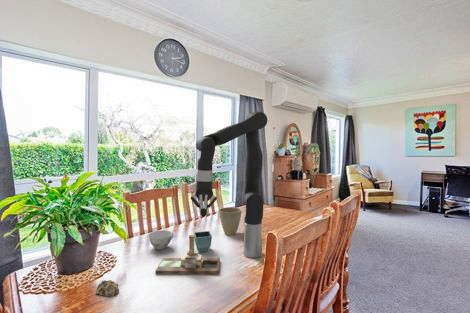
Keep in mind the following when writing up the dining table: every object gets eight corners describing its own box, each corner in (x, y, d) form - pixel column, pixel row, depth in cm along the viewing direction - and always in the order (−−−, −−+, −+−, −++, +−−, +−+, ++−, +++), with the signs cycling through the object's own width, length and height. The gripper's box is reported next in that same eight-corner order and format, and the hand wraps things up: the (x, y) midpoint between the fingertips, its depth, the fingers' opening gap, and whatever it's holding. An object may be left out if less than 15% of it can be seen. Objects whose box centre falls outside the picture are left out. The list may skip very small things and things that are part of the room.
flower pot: (195, 254, 134) (195, 237, 134) (193, 247, 142) (193, 232, 142) (211, 252, 136) (212, 236, 136) (209, 246, 145) (209, 230, 145)
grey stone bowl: (157, 254, 133) (157, 239, 133) (144, 248, 141) (144, 233, 141) (180, 246, 145) (180, 232, 144) (167, 240, 153) (167, 227, 152)
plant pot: (242, 230, 173) (242, 207, 173) (240, 238, 159) (240, 213, 158) (220, 229, 175) (220, 206, 174) (216, 237, 160) (217, 212, 159)
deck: (219, 261, 126) (219, 248, 126) (218, 274, 113) (218, 260, 113) (163, 261, 126) (163, 248, 125) (155, 274, 113) (155, 260, 112)
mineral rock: (89, 286, 99) (109, 272, 105) (92, 295, 100) (111, 281, 106) (104, 296, 92) (124, 281, 99) (107, 306, 94) (126, 290, 100)
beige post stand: (201, 261, 122) (202, 234, 121) (200, 266, 117) (200, 237, 116) (183, 261, 122) (183, 234, 121) (180, 265, 117) (181, 237, 116)
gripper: (219, 179, 123) (218, 214, 123) (191, 178, 123) (190, 213, 123) (218, 181, 115) (217, 219, 116) (189, 180, 115) (188, 218, 116)
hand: (203, 216), depth 120 cm, fingers closed
